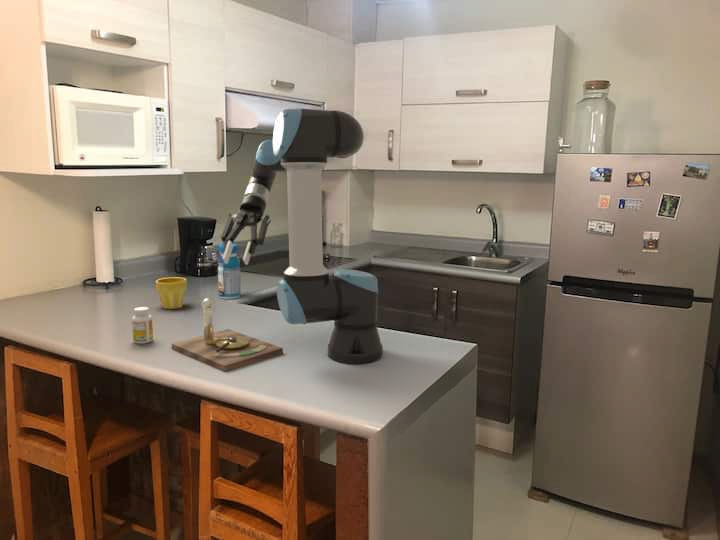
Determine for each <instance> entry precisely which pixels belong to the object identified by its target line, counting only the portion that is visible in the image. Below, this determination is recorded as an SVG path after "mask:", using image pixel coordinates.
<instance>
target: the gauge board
mask: <svg viewBox="0 0 720 540" xmlns="http://www.w3.org/2000/svg"><path fill="white" fill-rule="evenodd" d="M213 335H214V338H222V337H227V336H243V337H246V338H248V339H249V345H248V346H246V347H244V348H240V349H233V350H226V349H222V350H221V351H219V352H216V350H217V349H218V348H217V347H216V344H205V340H204V334H203V335H200V336H196V337H191V338H188V339H184V340H180V341H176V342H174V343H171V349H172V350H174V351H176V352H178V353H181V354H183V355H186V356H188V357H190V358H193V359H195V360H197V361H200V362H202V363H204V364H205V365H209V366H212V367H213V368H216V369H218V370H220V371H223V372H229V371H231V369H232V370H234V368H235V369H238V368H241V367H244V366H247V364H248V365H250V364H249V363H251V364H253V362H254V363H257V362H259V360H260V361H263V360H265V359H270V358H273V357H276V356H279V355H281V354H283V353H284V347H281V346H278V345H275V344H273V343H270V342H267V341H264V340H261V339H257V338H255V337H253V336H249V335H247V334H243V333H240V332H237V331H234V330H232V329H229V328H228V329H223V330H219V331H217V332H216V331H215V332H213ZM272 356H273V357H272ZM269 357H270V358H269ZM262 359H263V360H262ZM256 361H257V362H256ZM240 366H241V367H240ZM237 367H238V368H237ZM228 370H229V371H228Z"/></svg>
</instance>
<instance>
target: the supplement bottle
mask: <svg viewBox="0 0 720 540" xmlns="http://www.w3.org/2000/svg"><path fill="white" fill-rule="evenodd" d="M149 313H150V308H149V307H147V306H140V307H135V308H133V314H134V315H133V316H132V319H131V323H132V339H133V342H134V343H135V344H149V343H151V342H152V341H153V340H154V332H153V319H152V318H153V317H152V315H151V314H149Z"/></svg>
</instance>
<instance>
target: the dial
mask: <svg viewBox="0 0 720 540" xmlns="http://www.w3.org/2000/svg"><path fill="white" fill-rule="evenodd" d="M201 307H202V318H203V319H202V320H203V322H202V323H203V335H204V340H205V344H216V347H217V348H218V349H217V350H216V352H219V351H221V350H222V349H226V350H233V349H240V348H244V347H246V346H248V345H249V339H248V338H246V337H243V336H227V337H222V338H214V335H213V333H214V315H213V313H214V311H213V308H214V301H213V300H212V299H211V298H204V299H203V300H202V301H201Z"/></svg>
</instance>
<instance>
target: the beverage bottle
mask: <svg viewBox="0 0 720 540" xmlns="http://www.w3.org/2000/svg"><path fill="white" fill-rule="evenodd" d="M224 244H225V243H221V244H219V246H218V248H219V249H218V251H219V252H218V253H219V255H220V256H219V258H218V259H217V265H218V267H217V279H218V281H217V282H218V297H219V298H220V299H223V300H233V299H238V298H240V297H241V295H242V292H241V267H240V263H241V261H240V259H239V256H238V253H239V251H238V248H239V246H238V244H236V243H232V244H233V249H232V252H231V255H230V258H229V261H228V264H226V263H225V262H224V260H223V259H222V258H223V255H224V251H223V247H224Z"/></svg>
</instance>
